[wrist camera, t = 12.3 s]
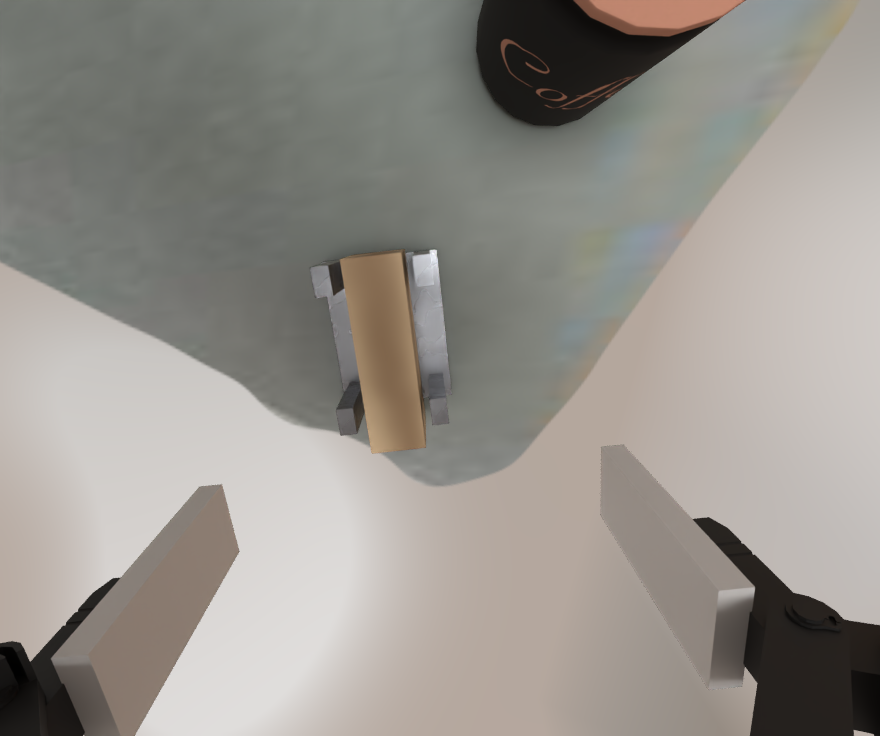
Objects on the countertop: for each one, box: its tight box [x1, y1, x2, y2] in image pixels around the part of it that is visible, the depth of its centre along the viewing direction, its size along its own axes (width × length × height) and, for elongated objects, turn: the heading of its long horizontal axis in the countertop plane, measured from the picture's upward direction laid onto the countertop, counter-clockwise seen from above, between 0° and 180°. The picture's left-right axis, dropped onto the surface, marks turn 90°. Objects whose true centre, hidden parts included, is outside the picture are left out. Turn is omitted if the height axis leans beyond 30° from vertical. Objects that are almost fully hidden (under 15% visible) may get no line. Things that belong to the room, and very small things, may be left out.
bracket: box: [310, 249, 452, 436], centre depth 35 cm, size 9×12×7 cm
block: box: [340, 249, 426, 454], centre depth 35 cm, size 4×14×6 cm, turn 6°
